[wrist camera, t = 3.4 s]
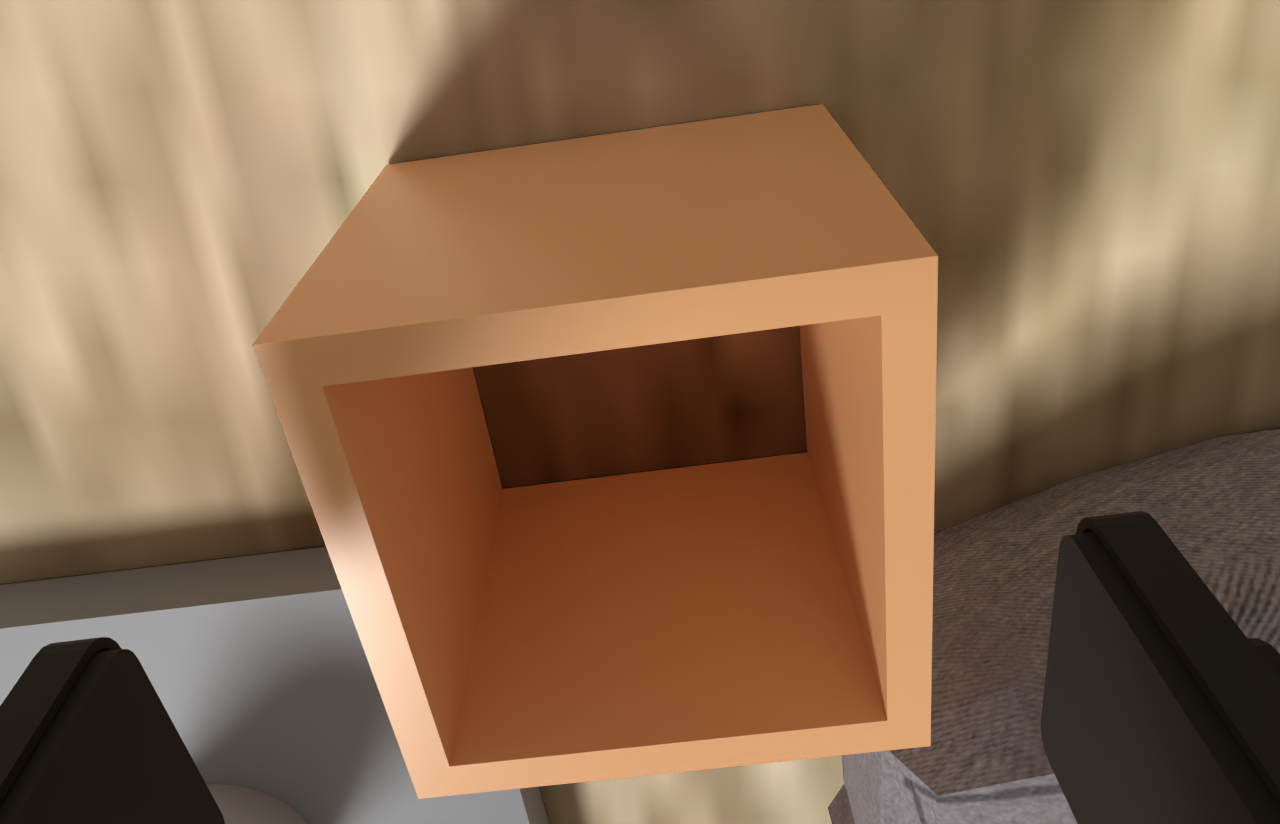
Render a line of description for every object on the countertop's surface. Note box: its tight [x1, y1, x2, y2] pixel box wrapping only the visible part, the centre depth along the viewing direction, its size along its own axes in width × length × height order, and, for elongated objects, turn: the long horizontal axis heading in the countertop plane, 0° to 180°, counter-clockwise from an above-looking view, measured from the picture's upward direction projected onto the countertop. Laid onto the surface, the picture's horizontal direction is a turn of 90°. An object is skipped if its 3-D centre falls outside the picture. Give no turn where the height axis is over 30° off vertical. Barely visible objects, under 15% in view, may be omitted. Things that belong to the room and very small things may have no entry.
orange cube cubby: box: [252, 104, 938, 799], centre depth 15 cm, size 7×7×7 cm
